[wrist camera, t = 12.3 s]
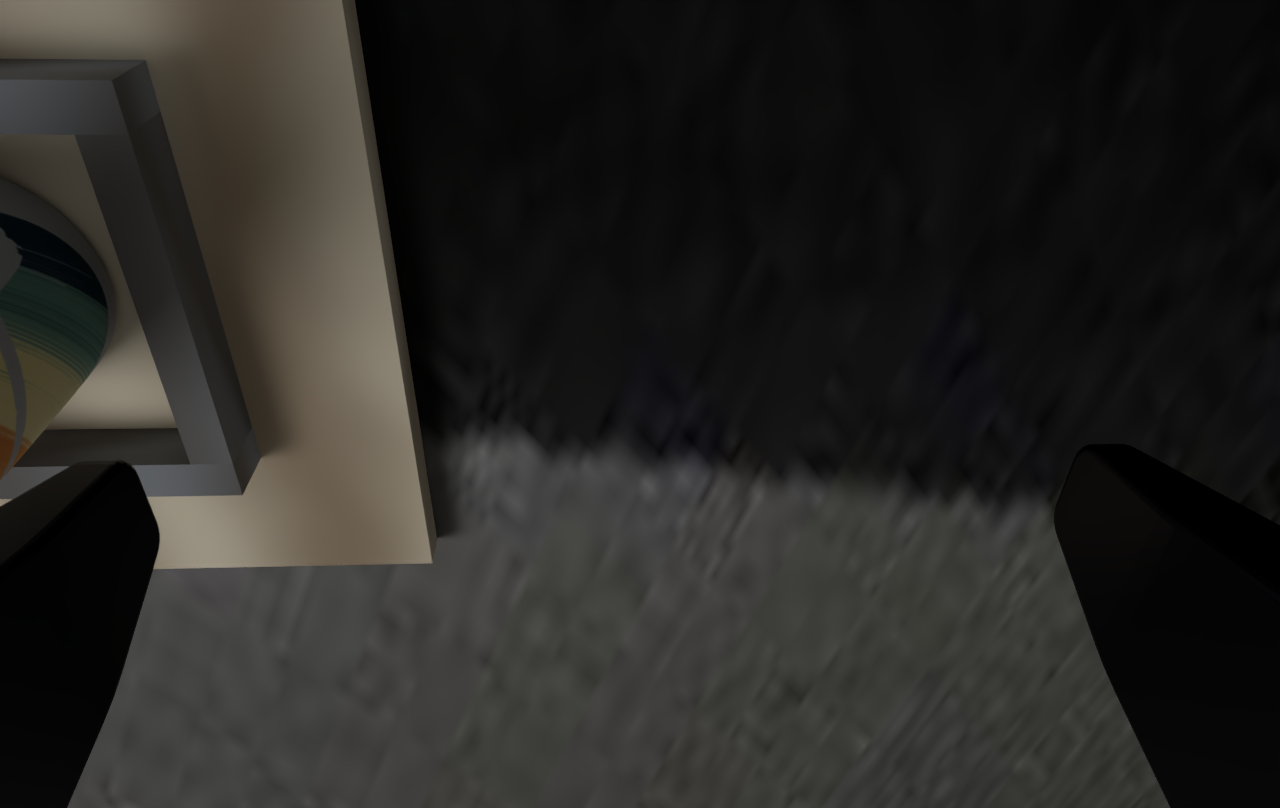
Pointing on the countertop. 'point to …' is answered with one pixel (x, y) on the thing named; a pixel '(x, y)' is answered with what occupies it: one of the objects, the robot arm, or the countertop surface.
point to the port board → (226, 273)
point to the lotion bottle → (45, 317)
